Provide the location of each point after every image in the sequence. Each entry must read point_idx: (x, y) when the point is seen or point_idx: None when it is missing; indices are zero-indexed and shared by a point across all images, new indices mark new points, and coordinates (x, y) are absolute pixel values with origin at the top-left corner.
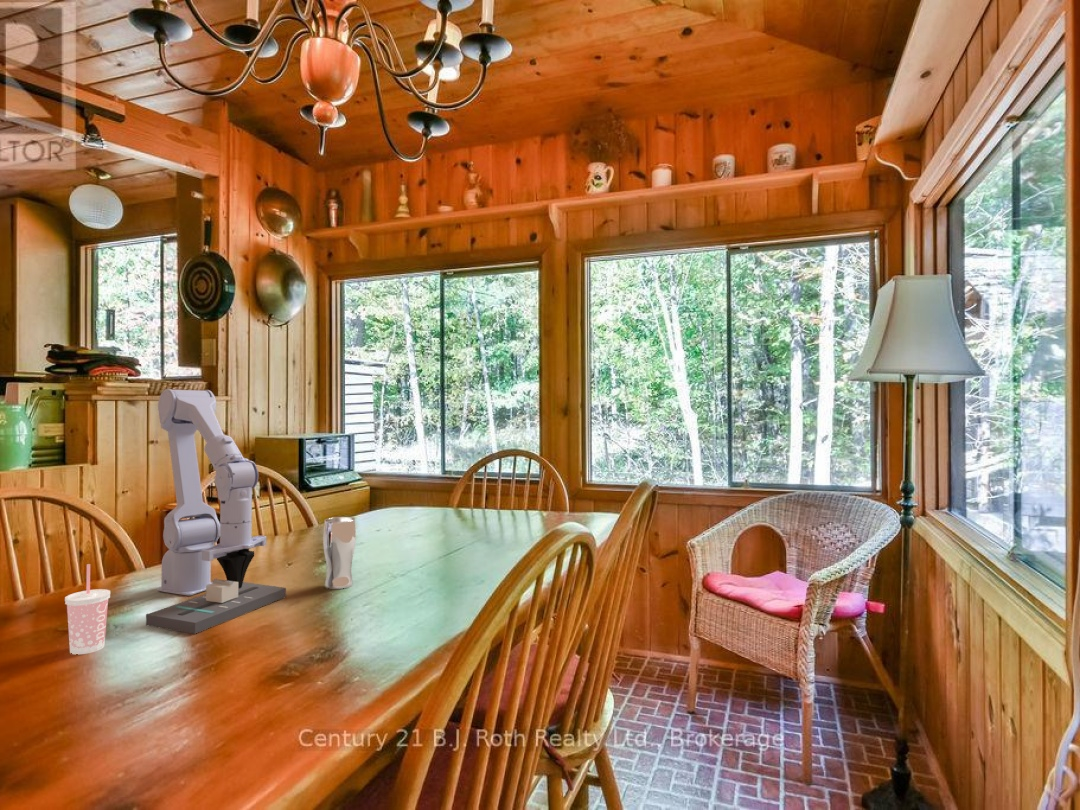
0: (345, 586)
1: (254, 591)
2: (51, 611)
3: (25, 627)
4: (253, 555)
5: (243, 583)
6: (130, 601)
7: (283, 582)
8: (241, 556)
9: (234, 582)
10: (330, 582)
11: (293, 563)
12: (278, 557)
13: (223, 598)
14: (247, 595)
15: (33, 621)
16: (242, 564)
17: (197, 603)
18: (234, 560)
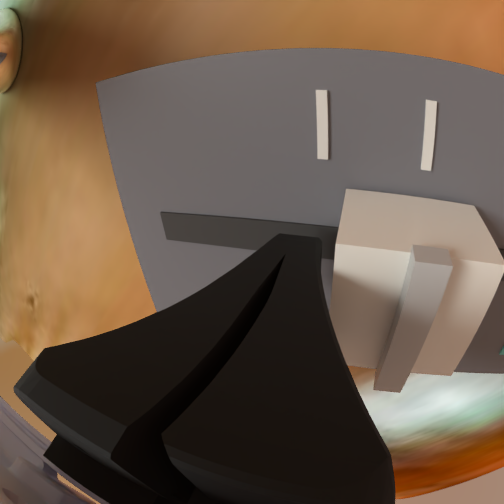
0: (2, 9)
1: (210, 183)
2: (429, 479)
3: (501, 462)
4: (45, 359)
5: (167, 307)
6: None
7: (64, 229)
8: (229, 491)
9: (360, 263)
10: (1, 40)
11: (26, 296)
12: (42, 337)
13: (468, 215)
14: (284, 166)
15: (474, 470)
16: (237, 360)
17: None
18: (393, 482)
